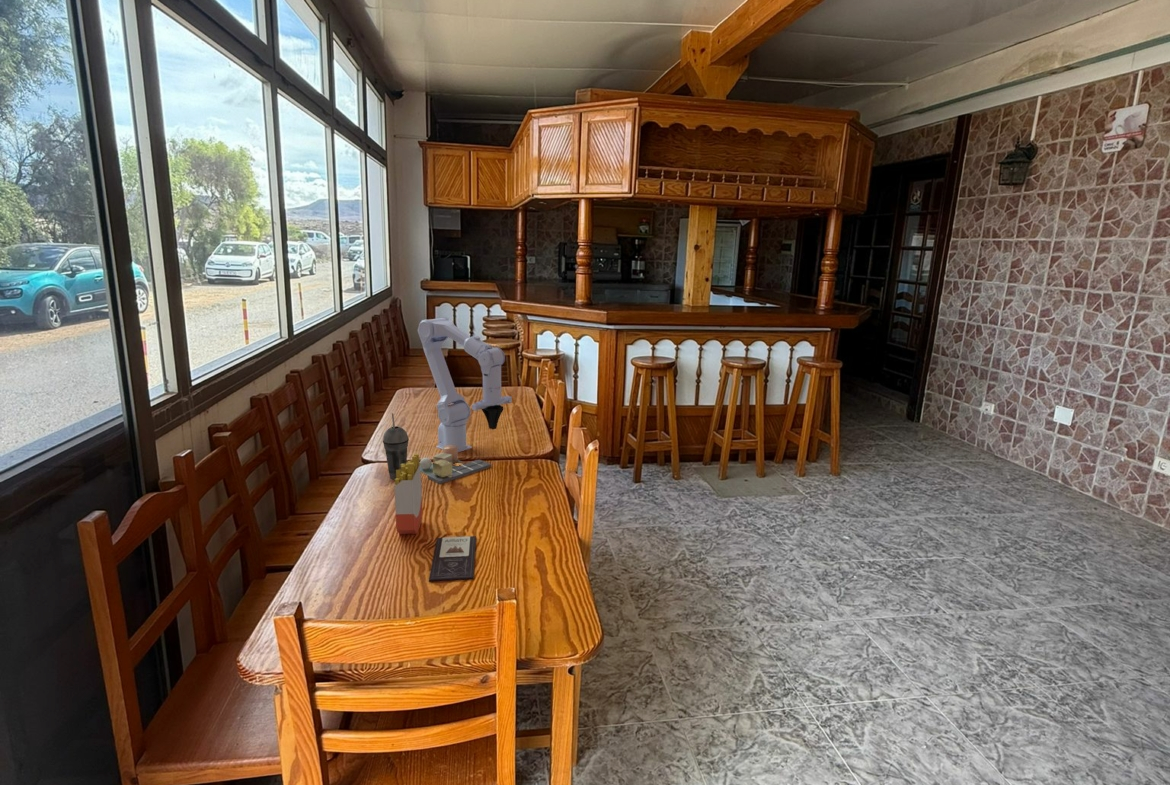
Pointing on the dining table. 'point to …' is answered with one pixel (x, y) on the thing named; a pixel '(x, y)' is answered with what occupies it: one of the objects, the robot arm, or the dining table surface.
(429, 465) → the grey ball
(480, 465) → the board
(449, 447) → the peach domed cylinder
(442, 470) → the tan cardboard cube
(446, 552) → the chocolate bar
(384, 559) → the dining table surface
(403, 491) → the french fries container
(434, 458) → the birch block
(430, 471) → the slate mat
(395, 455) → the beverage cup
